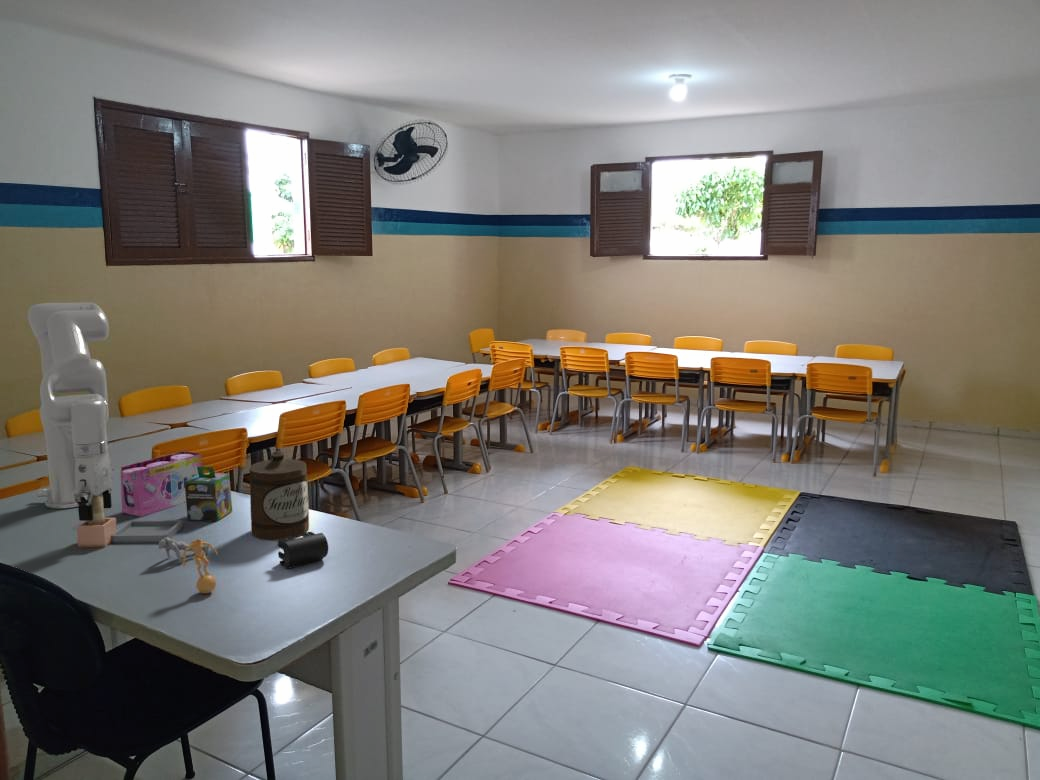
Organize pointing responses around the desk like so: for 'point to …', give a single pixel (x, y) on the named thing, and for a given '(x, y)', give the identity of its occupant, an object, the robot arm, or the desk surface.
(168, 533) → the tray
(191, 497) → the chalk box
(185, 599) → the desk surface
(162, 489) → the gum box
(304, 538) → the end cap
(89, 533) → the pink open box
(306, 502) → the wooden container
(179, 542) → the soldier figurine
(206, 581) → the figurine
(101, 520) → the dowel
